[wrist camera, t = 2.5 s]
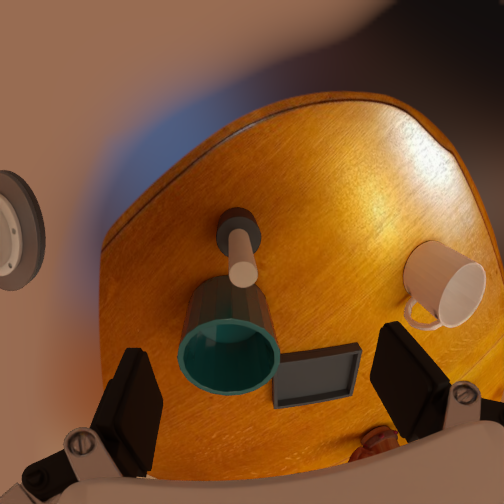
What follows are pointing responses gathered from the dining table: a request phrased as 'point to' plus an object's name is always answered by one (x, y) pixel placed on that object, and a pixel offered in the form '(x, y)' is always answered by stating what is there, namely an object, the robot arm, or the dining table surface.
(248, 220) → the brush
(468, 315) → the mug
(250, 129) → the dining table surface
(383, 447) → the mug
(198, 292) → the jar
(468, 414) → the robot arm
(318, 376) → the tray
